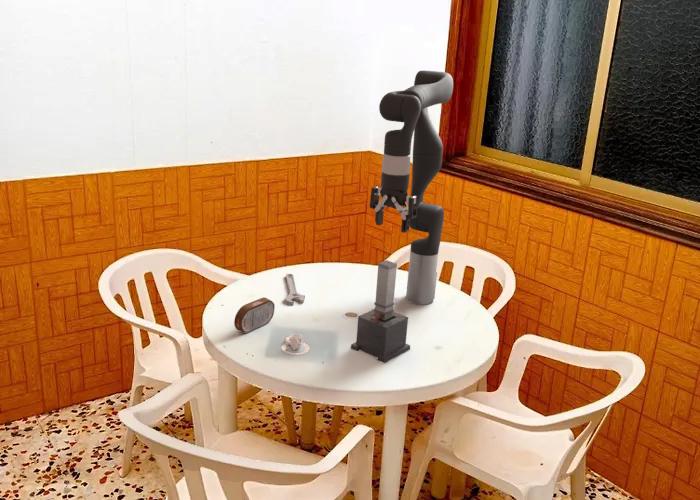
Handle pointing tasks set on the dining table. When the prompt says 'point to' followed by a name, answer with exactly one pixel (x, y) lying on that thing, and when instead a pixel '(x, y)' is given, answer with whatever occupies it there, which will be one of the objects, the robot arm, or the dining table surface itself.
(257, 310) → the tin
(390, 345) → the housing
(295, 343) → the teacup and saucer
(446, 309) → the dining table surface
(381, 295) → the column
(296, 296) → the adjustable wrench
